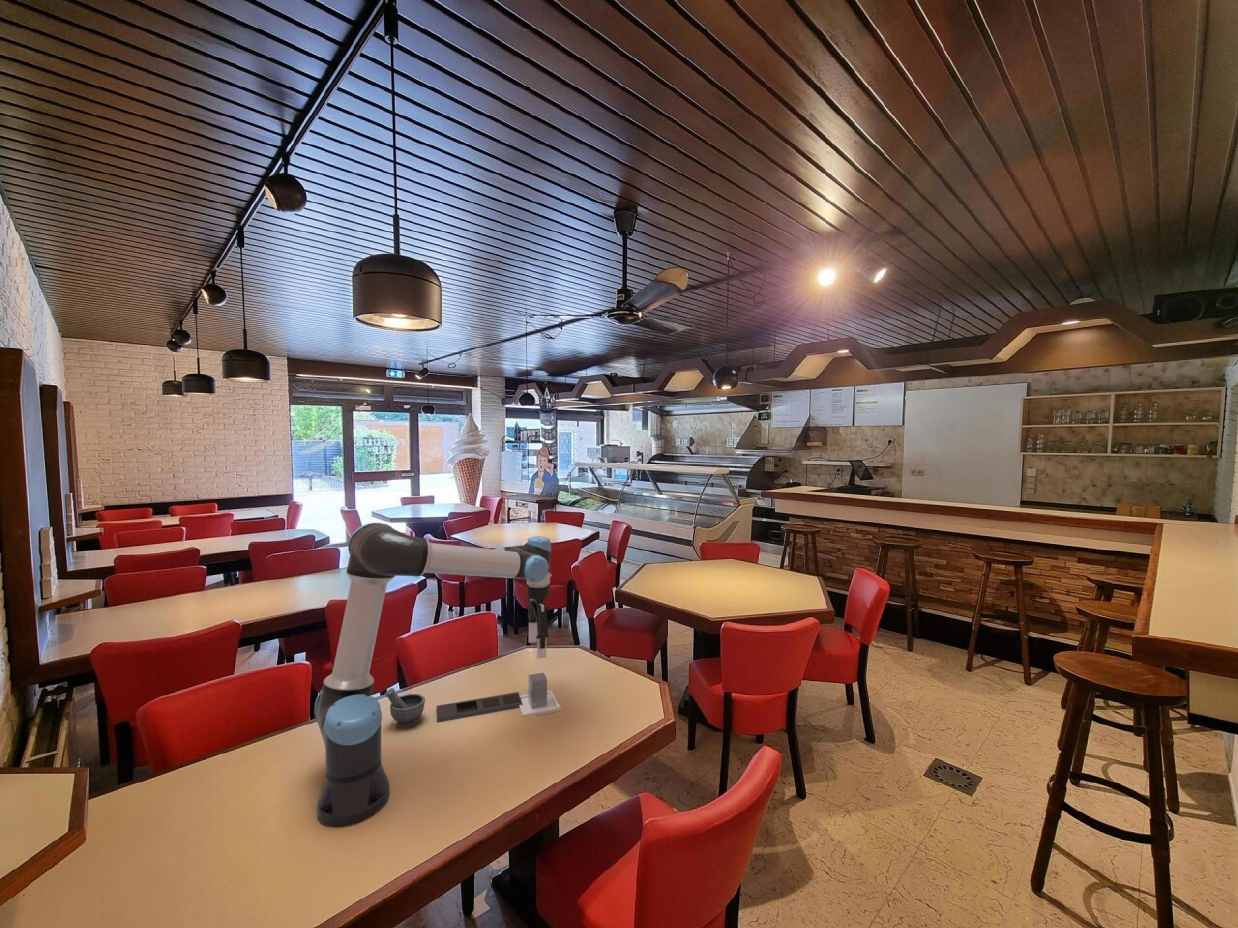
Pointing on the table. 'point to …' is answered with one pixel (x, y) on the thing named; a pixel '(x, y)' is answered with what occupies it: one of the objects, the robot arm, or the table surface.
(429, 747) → the table surface
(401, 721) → the mortar and pestle
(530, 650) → the table surface
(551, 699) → the parts tray
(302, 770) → the table surface
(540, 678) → the gray rectangular block
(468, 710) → the rack rail
